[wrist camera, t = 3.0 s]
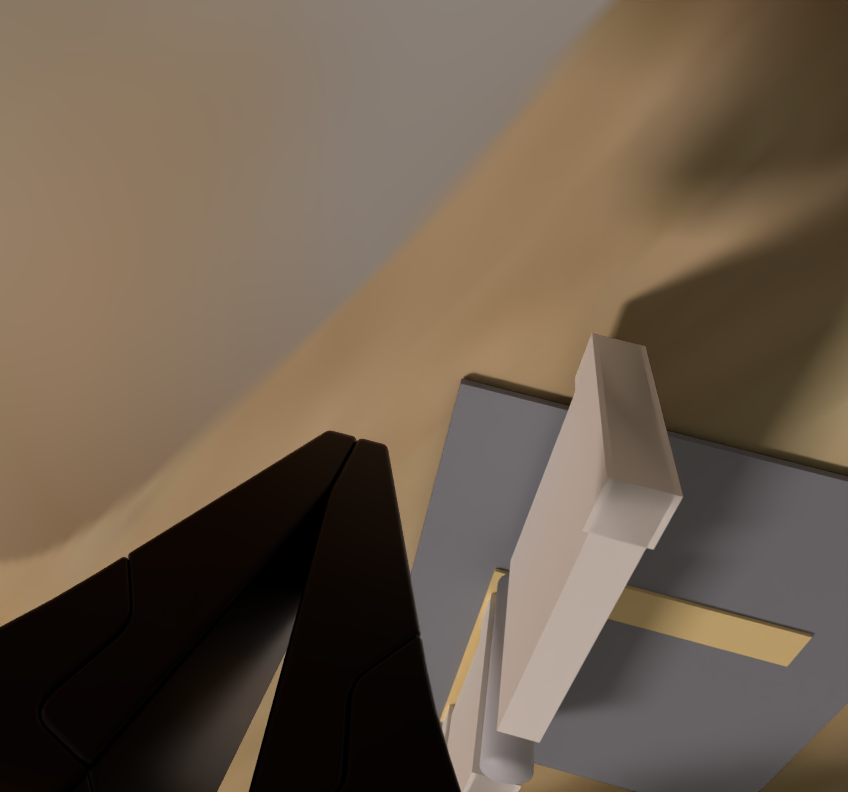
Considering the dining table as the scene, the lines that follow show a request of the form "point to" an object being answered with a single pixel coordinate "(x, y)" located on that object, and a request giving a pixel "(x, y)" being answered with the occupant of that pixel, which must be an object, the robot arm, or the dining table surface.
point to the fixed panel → (473, 717)
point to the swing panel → (576, 548)
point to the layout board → (655, 605)
